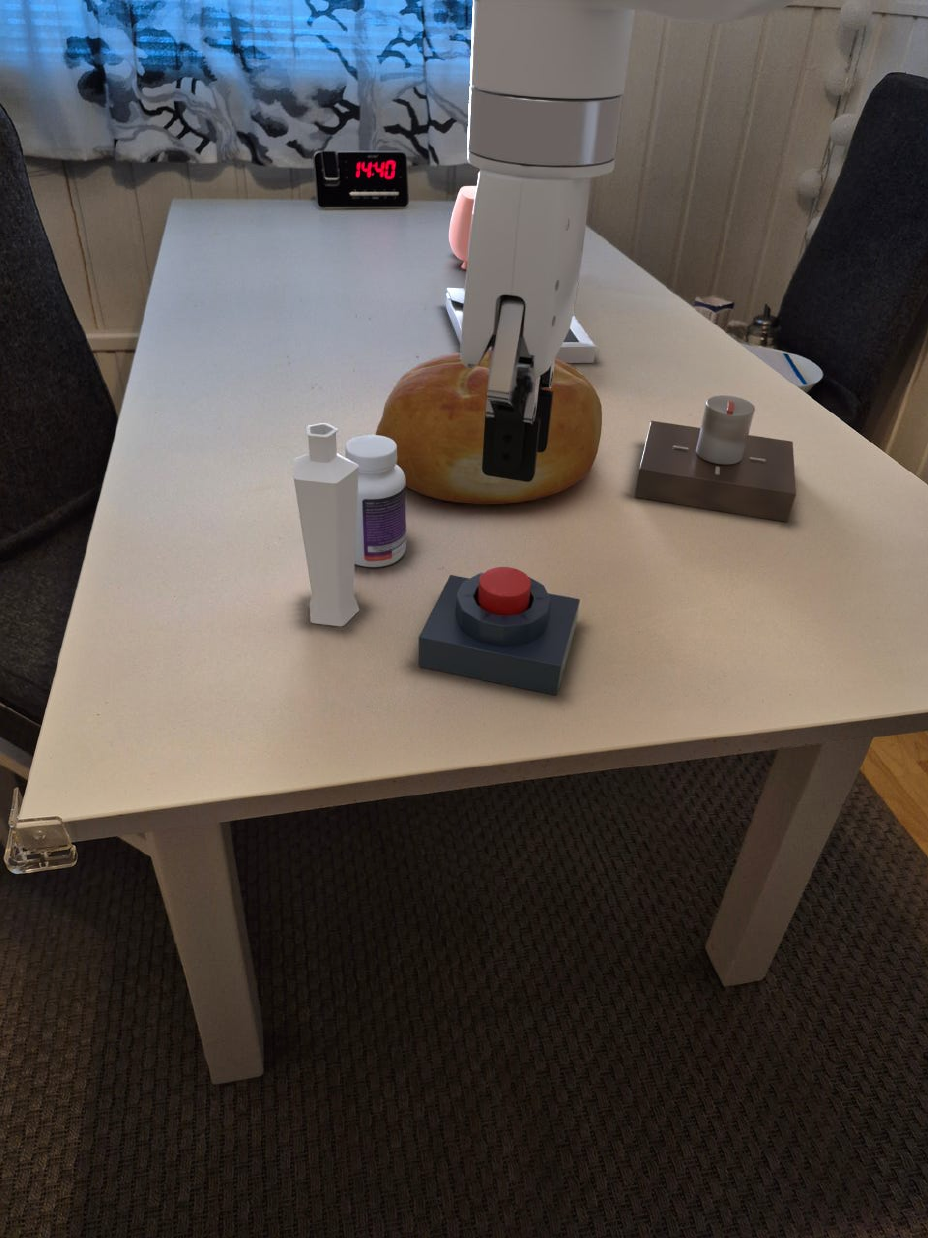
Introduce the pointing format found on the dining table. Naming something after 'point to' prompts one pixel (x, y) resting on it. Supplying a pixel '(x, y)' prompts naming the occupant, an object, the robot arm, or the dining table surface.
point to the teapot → (462, 223)
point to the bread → (454, 433)
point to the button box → (499, 637)
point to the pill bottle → (378, 501)
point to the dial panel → (717, 474)
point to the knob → (724, 429)
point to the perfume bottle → (328, 524)
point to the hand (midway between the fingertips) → (515, 459)
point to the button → (504, 591)
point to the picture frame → (571, 351)
